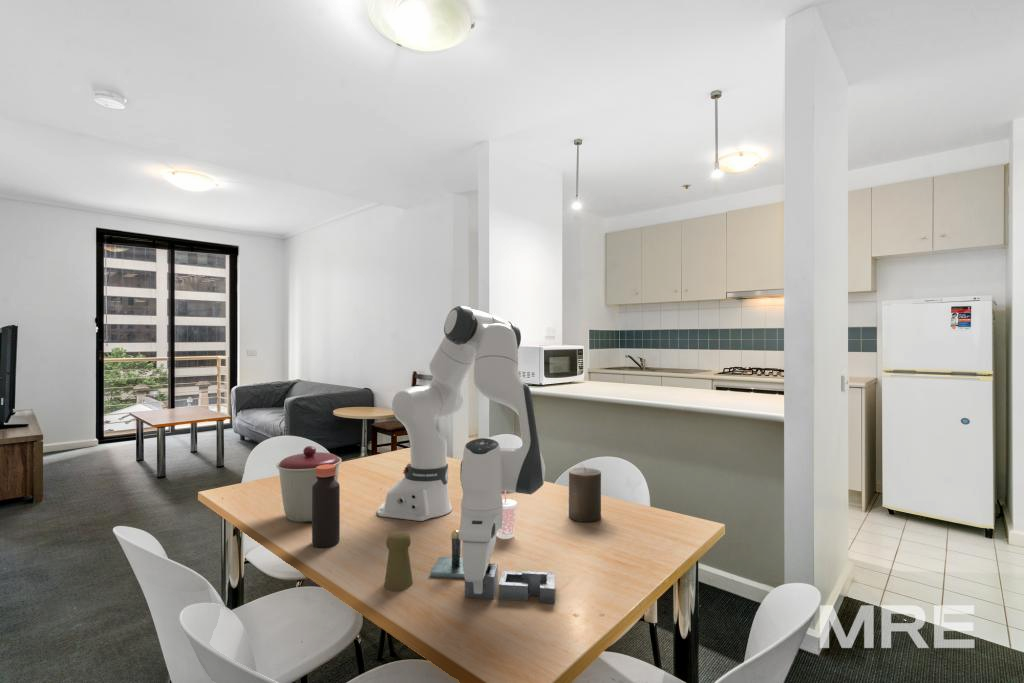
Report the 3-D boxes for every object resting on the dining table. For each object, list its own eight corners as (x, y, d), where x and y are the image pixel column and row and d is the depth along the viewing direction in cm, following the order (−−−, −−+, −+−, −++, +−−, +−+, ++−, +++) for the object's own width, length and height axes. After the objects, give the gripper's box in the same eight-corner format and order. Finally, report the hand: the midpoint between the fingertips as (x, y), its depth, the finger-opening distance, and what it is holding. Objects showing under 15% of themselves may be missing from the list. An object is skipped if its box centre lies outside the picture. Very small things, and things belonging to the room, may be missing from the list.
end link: (465, 597, 104) (465, 575, 104) (470, 583, 110) (470, 562, 110) (493, 598, 103) (493, 577, 103) (497, 584, 109) (497, 563, 109)
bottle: (319, 550, 126) (319, 471, 126) (307, 543, 130) (307, 466, 130) (344, 542, 131) (344, 466, 131) (331, 535, 136) (331, 462, 135)
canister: (266, 517, 150) (266, 446, 150) (324, 502, 163) (324, 437, 163) (292, 533, 137) (292, 456, 137) (352, 516, 151) (352, 446, 150)
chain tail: (498, 600, 102) (498, 578, 102) (502, 583, 109) (502, 563, 109) (554, 603, 101) (554, 581, 101) (555, 586, 108) (555, 566, 108)
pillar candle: (600, 523, 145) (601, 471, 145) (566, 521, 147) (567, 469, 147) (601, 512, 154) (601, 464, 154) (569, 510, 156) (570, 462, 156)
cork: (386, 577, 112) (386, 528, 112) (414, 576, 112) (414, 527, 112) (382, 591, 106) (382, 539, 106) (411, 590, 106) (410, 538, 106)
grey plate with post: (430, 576, 113) (430, 536, 112) (439, 560, 120) (439, 523, 120) (474, 578, 111) (474, 538, 111) (480, 562, 119) (480, 524, 119)
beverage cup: (512, 541, 132) (512, 488, 132) (490, 538, 134) (490, 486, 134) (519, 533, 138) (519, 482, 138) (499, 530, 140) (499, 480, 140)
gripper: (475, 501, 117) (475, 560, 117) (457, 535, 96) (457, 607, 97) (502, 502, 116) (502, 561, 116) (489, 537, 96) (489, 609, 96)
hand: (481, 582), depth 106 cm, fingers open, 6 cm apart
